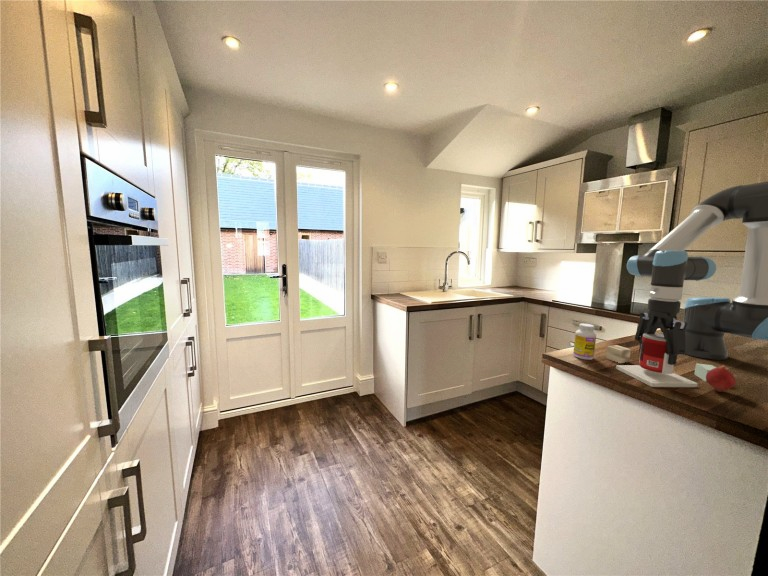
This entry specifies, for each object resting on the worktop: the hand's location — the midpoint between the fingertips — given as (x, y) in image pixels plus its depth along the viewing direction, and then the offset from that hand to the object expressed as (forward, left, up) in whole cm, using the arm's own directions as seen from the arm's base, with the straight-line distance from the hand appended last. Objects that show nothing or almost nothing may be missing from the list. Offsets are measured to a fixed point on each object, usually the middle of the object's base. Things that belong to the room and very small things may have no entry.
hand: (655, 367), depth 97 cm
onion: (-11, +10, -3) cm, 15 cm away
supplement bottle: (+11, -18, -3) cm, 21 cm away
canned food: (0, 0, 0) cm, 0 cm away
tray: (0, 0, -3) cm, 3 cm away
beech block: (0, -15, -3) cm, 15 cm away
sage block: (-17, +1, -3) cm, 17 cm away
